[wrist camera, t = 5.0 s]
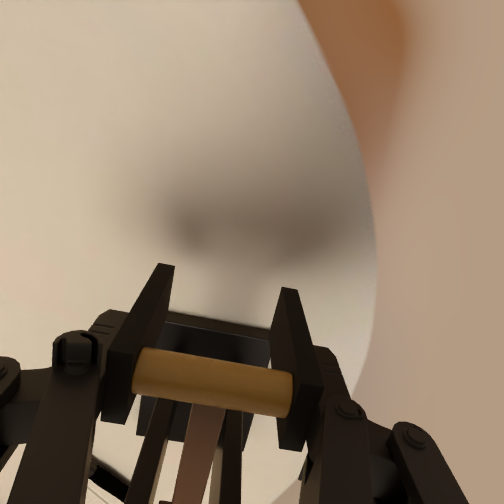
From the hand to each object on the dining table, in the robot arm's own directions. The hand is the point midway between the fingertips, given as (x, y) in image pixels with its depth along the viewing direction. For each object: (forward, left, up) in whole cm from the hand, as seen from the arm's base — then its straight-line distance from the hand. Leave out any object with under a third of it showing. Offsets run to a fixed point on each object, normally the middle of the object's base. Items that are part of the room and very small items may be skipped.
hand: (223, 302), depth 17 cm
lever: (+4, +4, +4) cm, 6 cm away
